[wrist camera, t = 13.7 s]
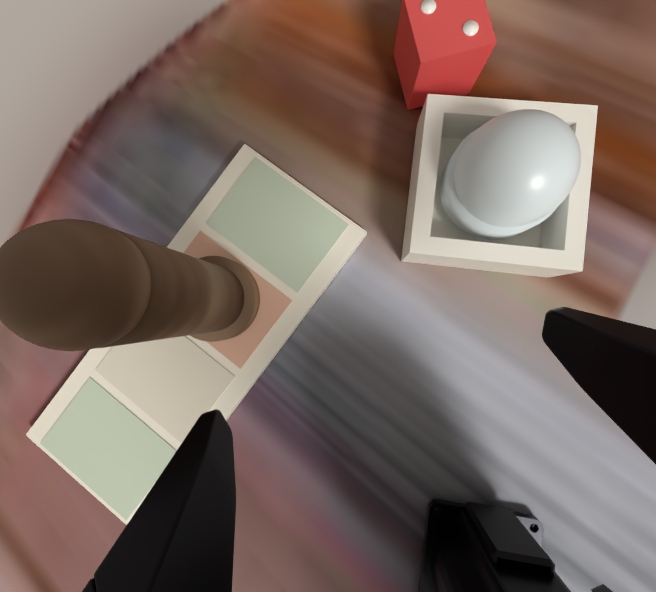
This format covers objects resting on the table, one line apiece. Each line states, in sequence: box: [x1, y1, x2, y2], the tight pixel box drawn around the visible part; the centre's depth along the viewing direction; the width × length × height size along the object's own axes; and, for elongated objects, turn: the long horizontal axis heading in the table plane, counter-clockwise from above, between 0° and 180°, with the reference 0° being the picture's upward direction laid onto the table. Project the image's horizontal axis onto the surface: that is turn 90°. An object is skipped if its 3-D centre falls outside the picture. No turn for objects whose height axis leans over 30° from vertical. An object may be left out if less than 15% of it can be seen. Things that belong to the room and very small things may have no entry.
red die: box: [393, 0, 497, 110], centre depth 19 cm, size 4×4×4 cm
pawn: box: [0, 219, 260, 351], centre depth 14 cm, size 5×5×13 cm
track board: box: [26, 144, 367, 525], centre depth 21 cm, size 24×10×1 cm, turn 143°
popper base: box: [401, 94, 598, 278], centre depth 19 cm, size 9×9×3 cm
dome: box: [440, 109, 581, 240], centre depth 16 cm, size 6×6×6 cm
